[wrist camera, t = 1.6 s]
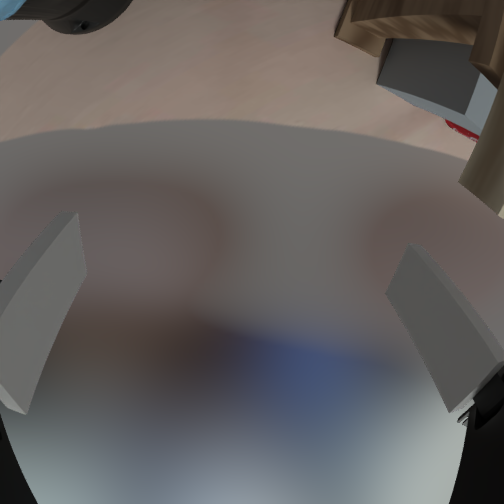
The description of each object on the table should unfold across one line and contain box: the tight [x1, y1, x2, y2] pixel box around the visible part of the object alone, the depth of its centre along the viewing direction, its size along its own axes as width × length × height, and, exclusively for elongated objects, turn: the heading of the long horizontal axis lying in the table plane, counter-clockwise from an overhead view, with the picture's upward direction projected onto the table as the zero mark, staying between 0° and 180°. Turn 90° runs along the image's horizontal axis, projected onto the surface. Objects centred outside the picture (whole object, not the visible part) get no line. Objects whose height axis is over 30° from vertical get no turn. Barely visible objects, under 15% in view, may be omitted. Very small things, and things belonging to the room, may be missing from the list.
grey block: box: [377, 38, 498, 136], centre depth 27 cm, size 8×11×20 cm
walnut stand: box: [334, 0, 504, 90], centre depth 20 cm, size 7×11×30 cm, turn 162°
